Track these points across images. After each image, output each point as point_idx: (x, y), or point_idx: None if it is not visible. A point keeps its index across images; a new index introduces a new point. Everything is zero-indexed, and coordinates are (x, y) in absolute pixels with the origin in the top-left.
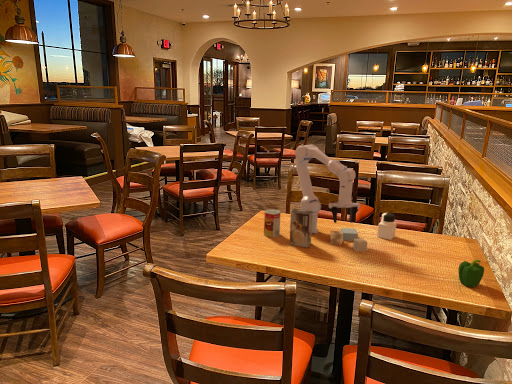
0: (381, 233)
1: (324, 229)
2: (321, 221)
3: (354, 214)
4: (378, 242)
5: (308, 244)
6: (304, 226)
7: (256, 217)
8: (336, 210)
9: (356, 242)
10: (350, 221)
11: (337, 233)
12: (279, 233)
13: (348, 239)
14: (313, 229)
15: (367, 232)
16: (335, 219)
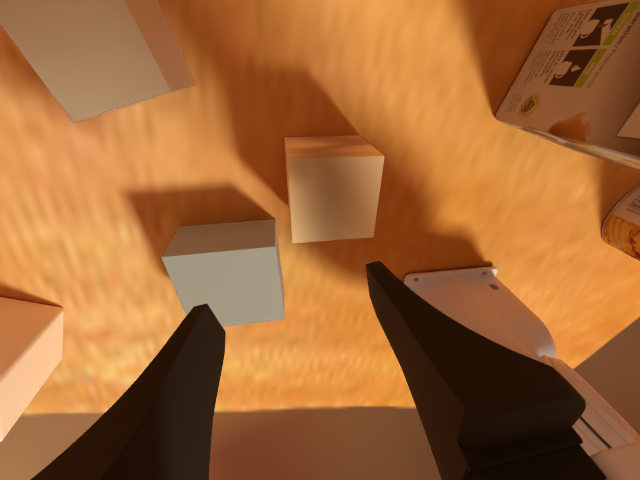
0: (10, 325)
1: (357, 326)
2: (355, 389)
3: (118, 410)
4: (25, 233)
5: (570, 16)
6: None
7: (588, 356)
8: (511, 400)
9: (131, 4)
10: (207, 317)
11: (330, 185)
12: (623, 214)
13: (237, 225)
14: (433, 290)
15: (138, 347)
16: (395, 282)
